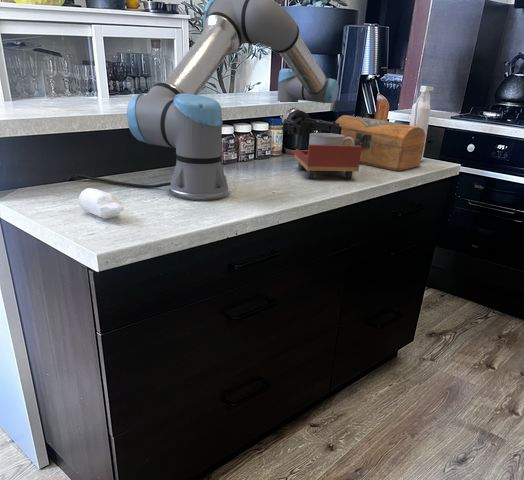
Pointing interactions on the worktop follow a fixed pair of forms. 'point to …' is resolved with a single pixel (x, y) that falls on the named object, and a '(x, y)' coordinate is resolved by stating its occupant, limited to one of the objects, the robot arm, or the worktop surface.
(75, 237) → the worktop surface
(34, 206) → the worktop surface
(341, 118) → the wooden box
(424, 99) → the white spray bottle
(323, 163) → the cart
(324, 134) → the teacup
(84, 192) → the roll
